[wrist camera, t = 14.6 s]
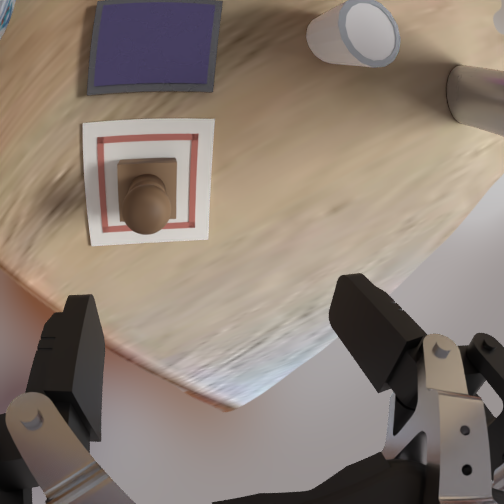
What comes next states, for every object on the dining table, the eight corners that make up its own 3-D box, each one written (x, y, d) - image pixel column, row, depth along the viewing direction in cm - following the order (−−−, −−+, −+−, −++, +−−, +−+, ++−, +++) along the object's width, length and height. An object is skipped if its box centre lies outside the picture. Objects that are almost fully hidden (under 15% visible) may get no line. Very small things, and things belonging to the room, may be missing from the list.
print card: (214, 118, 26) (215, 119, 26) (207, 238, 32) (208, 239, 31) (83, 123, 22) (82, 123, 22) (91, 244, 28) (91, 246, 28)
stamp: (174, 156, 26) (184, 180, 19) (173, 208, 29) (183, 250, 21) (120, 158, 25) (106, 183, 17) (122, 210, 27) (113, 254, 20)
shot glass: (316, 77, 27) (357, 76, 21) (289, 18, 23) (325, 2, 17) (365, 59, 27) (410, 58, 21) (342, 5, 23) (384, -8, 17)
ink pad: (220, 4, 21) (224, -1, 19) (210, 92, 25) (214, 91, 23) (99, 4, 17) (96, -1, 16) (89, 95, 21) (85, 95, 20)
